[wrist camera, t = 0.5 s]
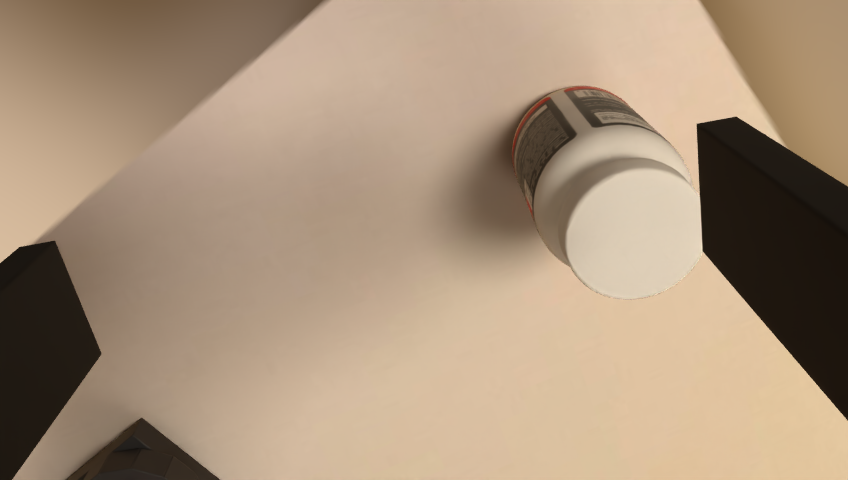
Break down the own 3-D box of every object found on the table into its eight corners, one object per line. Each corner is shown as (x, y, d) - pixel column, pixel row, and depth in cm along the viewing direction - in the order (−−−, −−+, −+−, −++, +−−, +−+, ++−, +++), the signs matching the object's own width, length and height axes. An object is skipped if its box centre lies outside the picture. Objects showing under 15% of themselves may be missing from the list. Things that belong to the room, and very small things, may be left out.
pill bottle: (542, 227, 35) (587, 341, 26) (488, 122, 33) (516, 205, 24) (659, 171, 34) (748, 269, 25) (610, 58, 32) (688, 121, 23)
